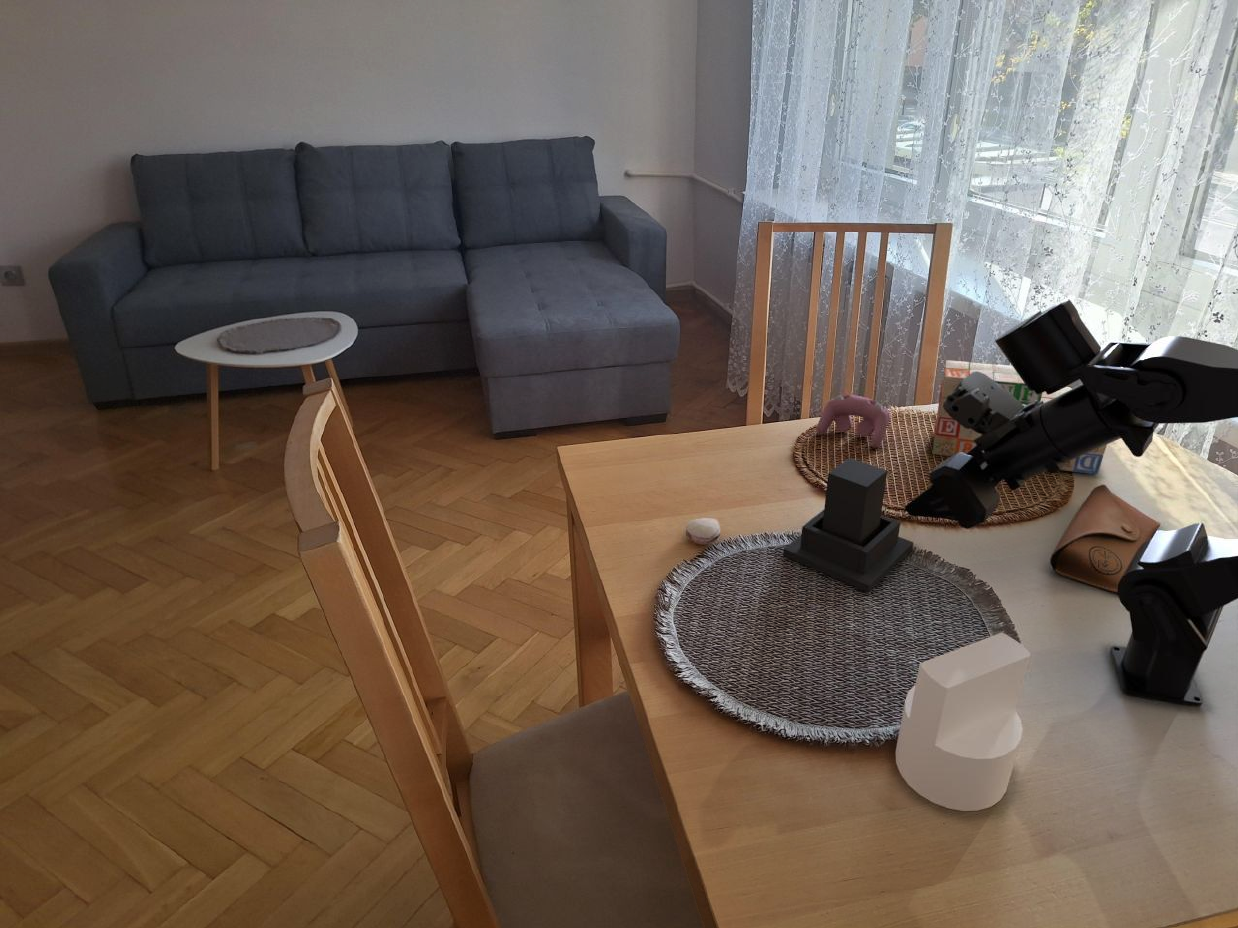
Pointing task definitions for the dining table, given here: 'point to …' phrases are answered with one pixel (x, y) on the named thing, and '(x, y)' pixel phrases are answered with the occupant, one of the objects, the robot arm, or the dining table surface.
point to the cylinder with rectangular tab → (964, 724)
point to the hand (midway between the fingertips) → (927, 493)
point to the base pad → (850, 553)
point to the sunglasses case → (1101, 540)
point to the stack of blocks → (960, 439)
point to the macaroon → (703, 530)
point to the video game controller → (857, 406)
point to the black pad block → (854, 501)
